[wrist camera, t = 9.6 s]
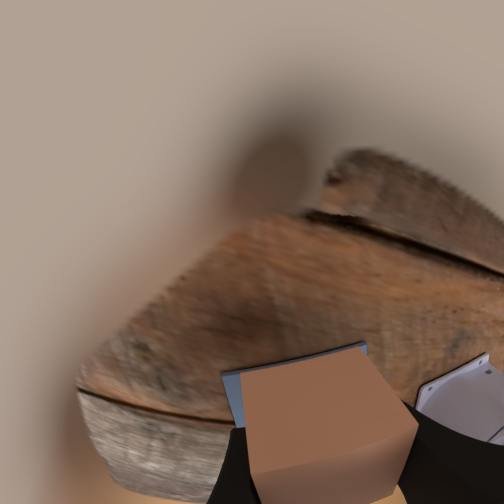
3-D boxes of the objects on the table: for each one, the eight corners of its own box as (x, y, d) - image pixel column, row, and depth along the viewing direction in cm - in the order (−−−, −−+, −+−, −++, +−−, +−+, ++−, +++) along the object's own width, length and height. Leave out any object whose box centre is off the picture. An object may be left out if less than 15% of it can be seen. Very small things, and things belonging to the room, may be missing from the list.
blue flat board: (364, 341, 19) (367, 344, 18) (361, 401, 20) (363, 404, 20) (221, 373, 18) (221, 377, 18) (238, 429, 20) (238, 433, 19)
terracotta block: (358, 346, 10) (418, 424, 6) (354, 423, 11) (392, 494, 7) (239, 373, 10) (250, 473, 6) (258, 446, 11) (271, 528, 7)
